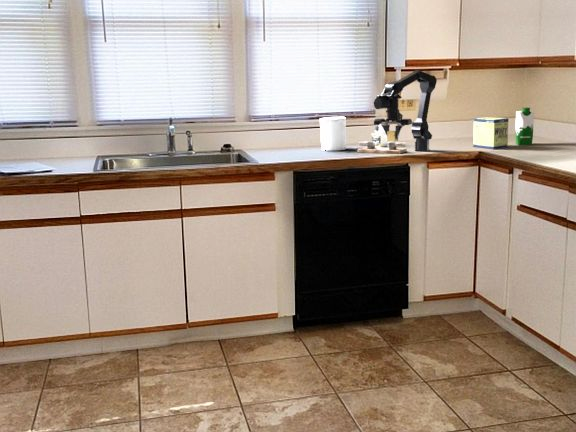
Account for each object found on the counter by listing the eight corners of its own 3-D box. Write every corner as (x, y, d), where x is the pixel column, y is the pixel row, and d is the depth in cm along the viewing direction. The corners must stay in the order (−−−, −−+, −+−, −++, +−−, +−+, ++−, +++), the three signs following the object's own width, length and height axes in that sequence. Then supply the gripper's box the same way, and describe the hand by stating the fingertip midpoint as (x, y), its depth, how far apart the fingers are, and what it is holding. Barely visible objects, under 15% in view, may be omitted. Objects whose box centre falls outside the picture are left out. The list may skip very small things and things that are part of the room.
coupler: (398, 140, 352) (398, 130, 351) (394, 141, 348) (394, 131, 347) (390, 140, 354) (390, 130, 353) (387, 141, 350) (387, 131, 349)
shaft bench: (408, 151, 363) (408, 141, 361) (401, 153, 354) (401, 143, 353) (363, 150, 376) (363, 140, 375) (355, 152, 367) (355, 142, 366)
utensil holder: (315, 150, 381) (314, 119, 377) (326, 147, 394) (326, 116, 390) (340, 151, 374) (339, 119, 370) (350, 148, 387) (350, 116, 383)
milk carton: (517, 145, 369) (518, 108, 365) (513, 143, 378) (514, 107, 374) (534, 145, 368) (535, 107, 364) (530, 143, 377) (531, 106, 373)
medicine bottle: (371, 146, 391) (371, 125, 389) (380, 145, 395) (380, 124, 393) (380, 147, 386) (380, 125, 383) (389, 145, 390) (389, 124, 387)
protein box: (493, 149, 358) (494, 119, 355) (472, 147, 371) (473, 118, 368) (508, 147, 363) (509, 118, 359) (486, 145, 376) (487, 116, 373)
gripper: (415, 106, 349) (415, 137, 353) (381, 106, 359) (382, 136, 362) (407, 108, 340) (407, 139, 343) (373, 108, 349) (373, 139, 353)
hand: (392, 138), depth 351 cm, fingers closed on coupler, 4 cm apart
